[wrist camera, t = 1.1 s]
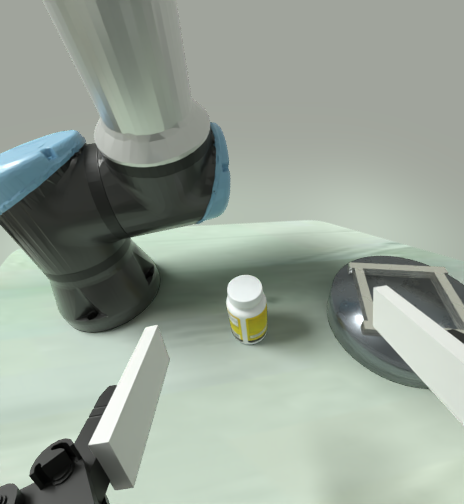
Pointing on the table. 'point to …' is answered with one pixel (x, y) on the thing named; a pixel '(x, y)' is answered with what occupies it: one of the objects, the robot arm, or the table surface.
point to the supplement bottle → (247, 309)
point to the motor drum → (407, 286)
